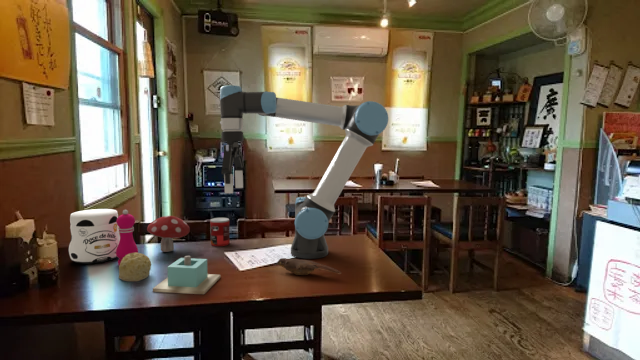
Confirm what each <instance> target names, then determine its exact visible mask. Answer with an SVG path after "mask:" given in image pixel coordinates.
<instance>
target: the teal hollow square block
mask: <svg viewBox="0 0 640 360" xmlns="http://www.w3.org/2000/svg"><path fill="white" fill-rule="evenodd" d="M166 267H167V277H168V286H180V287H197V286H198V285H199V284H200V283H202V282H203V281H204V280H205V279H206V278H207V277H208V274H209V273H208V258H194V257H193V258H192V257H191V266H186V265H184V257H180V258H178V259H176V261H174V262H172V263H171V264H170V265H168V266H166Z"/></svg>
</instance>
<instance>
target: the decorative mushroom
mask: <svg viewBox="0 0 640 360" xmlns="http://www.w3.org/2000/svg"><path fill="white" fill-rule="evenodd" d="M190 229H191V228H190V225H188V223H187V222H185V220H183V219H182V218H179V217H177V216H175V215H164V216H161V217H158V218H155V219H154V220H153V221H152V222H150V223H149V224H147V228H146V230H147V232H148V233H150V234H151V235H152V236H155V237H159V238H161V241H160V251H161V252H164V253H168V252H172V251H174V250H175V246H174V245H175V244H174V240H173V239H177V238H178V239H179V238H183V237H185V236H187V235H188V234H189V233H190Z"/></svg>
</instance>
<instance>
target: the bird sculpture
mask: <svg viewBox="0 0 640 360" xmlns="http://www.w3.org/2000/svg"><path fill="white" fill-rule="evenodd" d="M272 266H273V267H274V266H280V267H282V268H284V269H285V271H288V272H290V273H291V274H295V275H296V276H306V275H309V274H310V273H312V272H314V271H315V270H319V271H327V272H329V273H334V274H338V275H341V274H342V272H341V270H338V269H336V268H334V267H331V266H329V265H324V264H323V263H319V262H316V261H313V260H310V259H300V258H287V257H286V258H285V257H281V258H279V259H278V260H277V262H276V263H274V264H273V265H272Z"/></svg>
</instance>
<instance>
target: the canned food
mask: <svg viewBox="0 0 640 360" xmlns="http://www.w3.org/2000/svg"><path fill="white" fill-rule="evenodd" d="M209 225H210V228H209V229H210V230H209V231H210V245H211V246H212V247H225V246H226V247H227V246H228V245H230V234H231V233H230V219H229V218H228V217H214V218H210V222H209Z"/></svg>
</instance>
